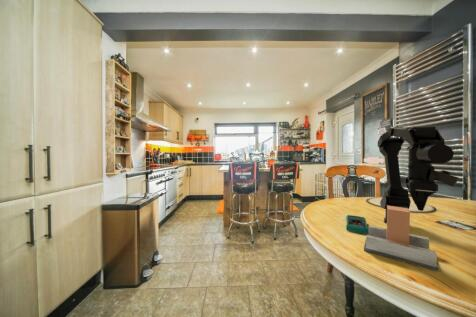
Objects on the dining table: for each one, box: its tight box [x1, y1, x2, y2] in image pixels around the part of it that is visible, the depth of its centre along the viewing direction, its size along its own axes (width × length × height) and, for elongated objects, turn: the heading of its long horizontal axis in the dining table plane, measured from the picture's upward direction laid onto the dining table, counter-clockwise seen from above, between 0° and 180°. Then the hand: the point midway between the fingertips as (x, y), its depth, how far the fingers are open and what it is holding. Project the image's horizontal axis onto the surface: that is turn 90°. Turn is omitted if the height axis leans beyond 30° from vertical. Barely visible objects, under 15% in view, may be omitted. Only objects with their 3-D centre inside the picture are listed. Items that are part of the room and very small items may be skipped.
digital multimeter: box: [345, 214, 369, 235], centre depth 76 cm, size 7×15×3 cm, turn 149°
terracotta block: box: [386, 205, 411, 245], centre depth 56 cm, size 5×5×12 cm
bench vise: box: [363, 225, 440, 272], centre depth 59 cm, size 20×16×4 cm
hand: (418, 207), depth 62 cm, fingers open, 9 cm apart
